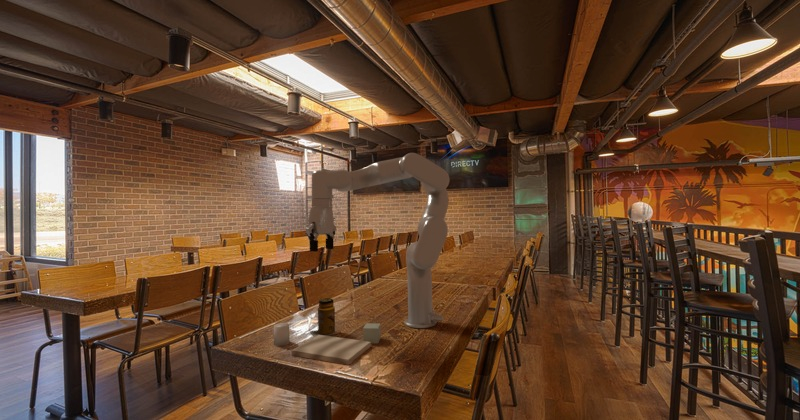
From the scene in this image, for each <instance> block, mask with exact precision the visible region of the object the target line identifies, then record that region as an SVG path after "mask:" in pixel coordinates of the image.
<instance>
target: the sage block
mask: <svg viewBox="0 0 800 420" xmlns="http://www.w3.org/2000/svg"><path fill="white" fill-rule="evenodd" d="M381 329H382V328H381V323H370V322H369V323H365V325H364V326H363V327H362V336H363V337H362V341H368V342H371V344H379V342H380V340H381V339H382V337H381V335H382V334H381V333H382V332H381Z"/></svg>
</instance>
